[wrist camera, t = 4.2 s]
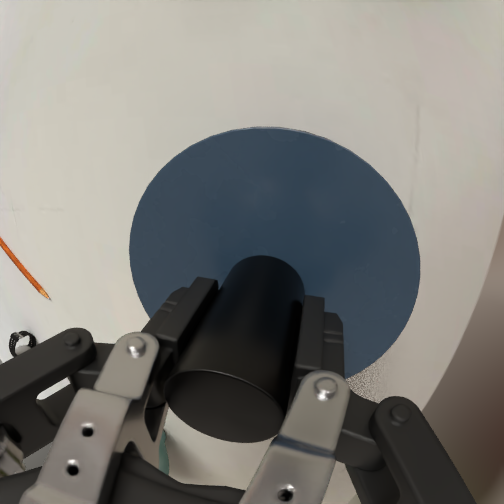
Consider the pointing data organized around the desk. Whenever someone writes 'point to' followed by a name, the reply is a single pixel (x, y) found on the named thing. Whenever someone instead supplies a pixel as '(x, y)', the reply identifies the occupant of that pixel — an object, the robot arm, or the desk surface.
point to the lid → (270, 267)
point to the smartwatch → (22, 348)
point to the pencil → (23, 269)
